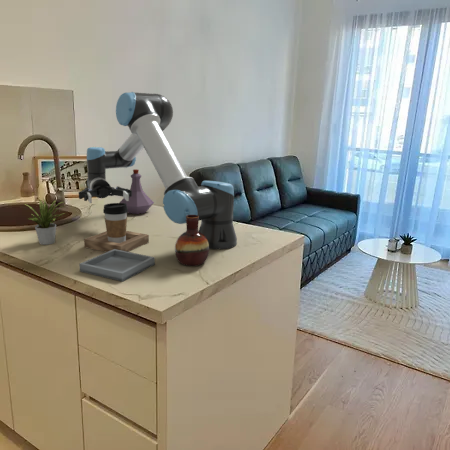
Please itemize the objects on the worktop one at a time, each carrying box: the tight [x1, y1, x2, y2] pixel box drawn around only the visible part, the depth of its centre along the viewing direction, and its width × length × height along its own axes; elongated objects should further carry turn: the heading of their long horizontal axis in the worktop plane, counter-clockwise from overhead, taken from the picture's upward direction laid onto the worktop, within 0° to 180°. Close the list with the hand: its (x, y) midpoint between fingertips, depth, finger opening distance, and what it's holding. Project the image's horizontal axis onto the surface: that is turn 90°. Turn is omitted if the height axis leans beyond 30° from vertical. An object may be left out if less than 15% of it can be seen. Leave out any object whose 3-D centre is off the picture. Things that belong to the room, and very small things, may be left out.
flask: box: [118, 169, 155, 215], centre depth 201 cm, size 16×16×20 cm
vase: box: [174, 215, 210, 267], centre depth 137 cm, size 11×11×15 cm
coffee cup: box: [102, 202, 128, 243], centre depth 152 cm, size 8×8×15 cm
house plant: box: [24, 198, 66, 246], centre depth 152 cm, size 14×14×16 cm
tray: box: [78, 249, 156, 282], centre depth 132 cm, size 16×16×2 cm
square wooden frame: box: [83, 230, 150, 253], centre depth 153 cm, size 16×16×3 cm
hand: (109, 198), depth 160 cm, fingers open, 13 cm apart
